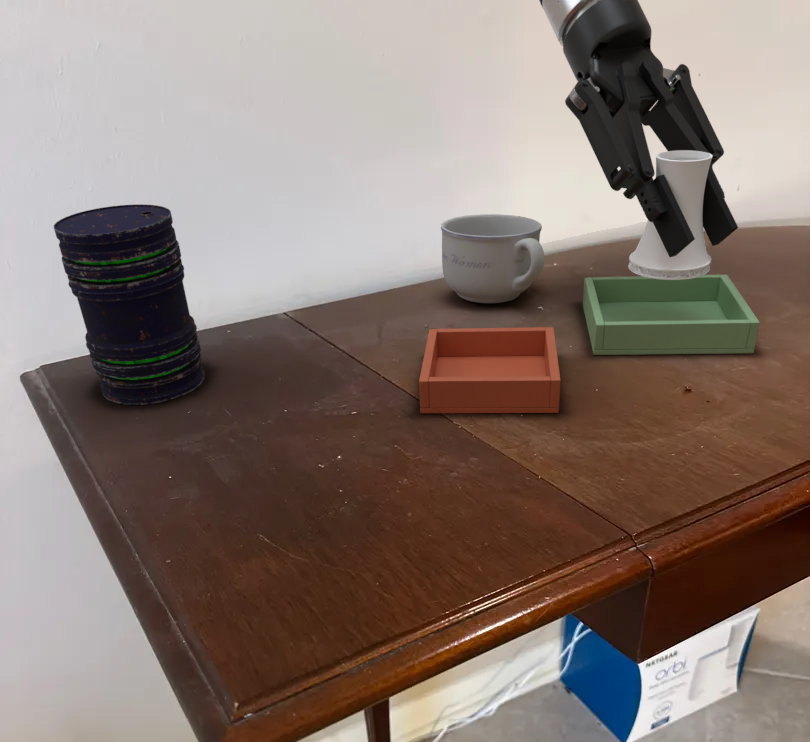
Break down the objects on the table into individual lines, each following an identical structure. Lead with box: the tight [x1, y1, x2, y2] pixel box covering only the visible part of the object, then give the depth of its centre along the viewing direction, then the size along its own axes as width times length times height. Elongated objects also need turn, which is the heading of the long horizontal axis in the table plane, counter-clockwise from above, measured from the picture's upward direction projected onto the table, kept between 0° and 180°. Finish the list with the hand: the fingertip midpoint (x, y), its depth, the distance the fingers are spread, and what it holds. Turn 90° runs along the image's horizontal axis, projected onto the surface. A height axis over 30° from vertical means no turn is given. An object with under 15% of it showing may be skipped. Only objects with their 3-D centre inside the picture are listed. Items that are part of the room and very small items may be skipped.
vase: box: [627, 150, 713, 280], centre depth 75 cm, size 8×8×10 cm
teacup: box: [440, 213, 545, 304], centre depth 88 cm, size 14×11×8 cm
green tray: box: [582, 274, 761, 356], centre depth 81 cm, size 15×14×3 cm
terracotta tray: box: [418, 326, 562, 414], centre depth 72 cm, size 12×12×3 cm
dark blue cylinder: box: [53, 204, 206, 406], centre depth 73 cm, size 10×10×15 cm
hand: (703, 242), depth 74 cm, fingers closed on vase, 5 cm apart
